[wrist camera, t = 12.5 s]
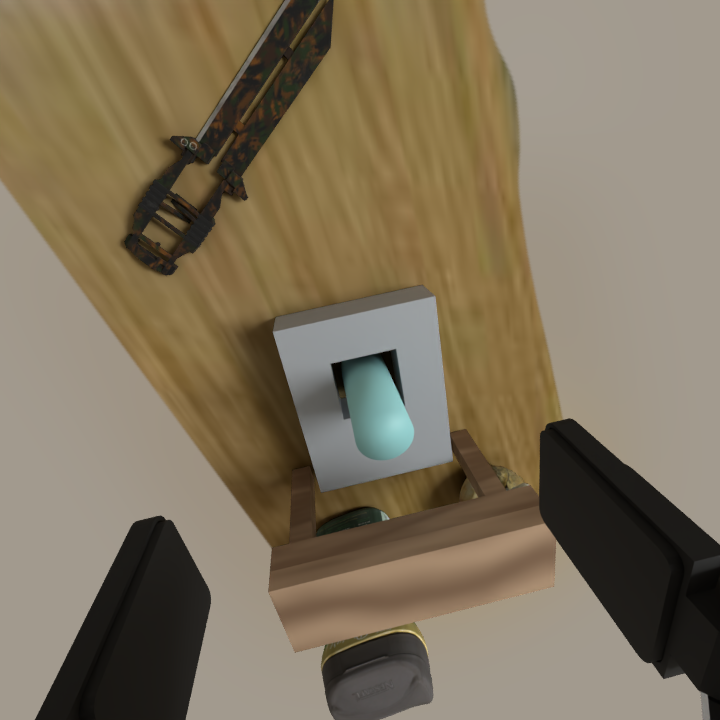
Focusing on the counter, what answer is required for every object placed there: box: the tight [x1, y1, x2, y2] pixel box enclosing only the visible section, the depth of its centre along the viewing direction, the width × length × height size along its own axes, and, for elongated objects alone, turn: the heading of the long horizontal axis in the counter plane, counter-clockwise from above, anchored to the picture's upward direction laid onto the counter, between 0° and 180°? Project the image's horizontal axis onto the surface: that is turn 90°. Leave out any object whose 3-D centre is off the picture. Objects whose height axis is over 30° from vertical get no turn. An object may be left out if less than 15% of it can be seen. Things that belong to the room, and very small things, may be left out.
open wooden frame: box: [268, 429, 556, 652], centre depth 36 cm, size 7×20×18 cm, turn 101°
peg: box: [341, 353, 414, 460], centre depth 34 cm, size 4×4×12 cm
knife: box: [124, 0, 333, 275], centre depth 30 cm, size 25×6×1 cm, turn 134°
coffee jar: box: [316, 508, 433, 720], centre depth 41 cm, size 10×8×19 cm
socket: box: [273, 285, 453, 493], centre depth 39 cm, size 18×14×4 cm
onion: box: [459, 466, 529, 502], centre depth 45 cm, size 8×8×8 cm
